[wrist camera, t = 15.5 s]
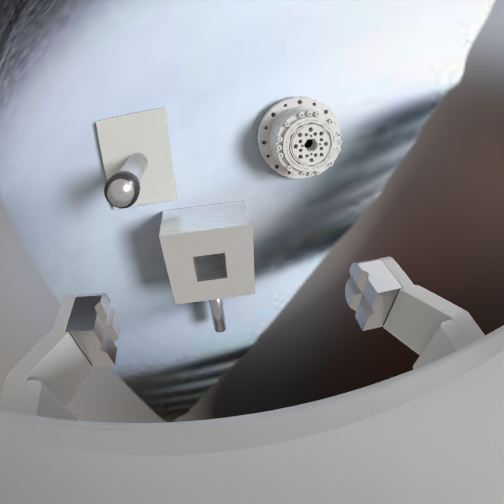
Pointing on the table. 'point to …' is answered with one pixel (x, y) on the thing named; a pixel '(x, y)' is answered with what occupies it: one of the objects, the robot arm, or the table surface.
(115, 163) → the mat
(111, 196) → the grey capped cylinder
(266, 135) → the mechanical component
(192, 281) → the block
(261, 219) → the table surface
